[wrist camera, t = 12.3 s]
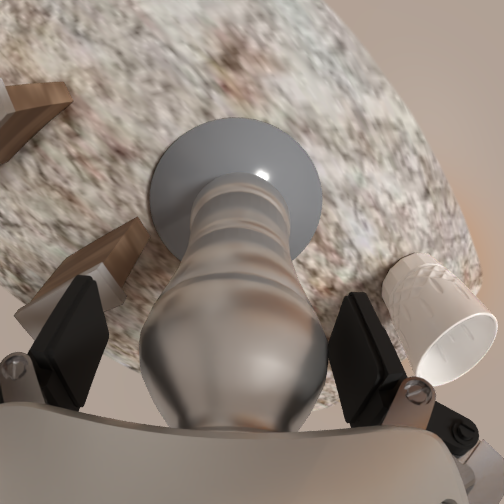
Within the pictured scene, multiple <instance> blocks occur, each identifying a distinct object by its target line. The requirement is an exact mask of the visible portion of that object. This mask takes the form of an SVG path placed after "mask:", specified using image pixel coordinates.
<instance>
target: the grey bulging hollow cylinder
mask: <svg viewBox="0 0 504 504" xmlns="http://www.w3.org/2000/svg"><path fill="white" fill-rule="evenodd" d="M190 232H191V233H190V238H189V244H188V248H187V250H186V252H185V255H184V257H183V259H182V261H181V263H180V265H179V267H178V270H177V271H176V272H175V274H174V275H173V277H172V278H171V280H170V281H169V283H168V284H167V286H166V287H165V289H164V291H163V292H162V294H161V295H160V297H159V298H158V300H157V302H156V303H155V304H154V306H153V308H152V310H151V312H150V314H149V316H148V318H147V320H146V322H145V324H144V326H143V328H142V330H141V334H140V341H139V356H140V368H141V374H142V378H143V380H144V382H145V384H146V387H147V389H148V391H149V393H150V395H151V398H152V400H153V402H154V404H155V405H156V407H157V409H158V411H159V412H160V414H161V415H162V416H163V418H164V420H165V421H166V423H167V424H168V426H169V427H170V428H178V429H188V430H200V431H215V432H240V433H283V432H298V430H299V429H300V428H301V426H302V425H303V424H304V422H305V421H306V419H307V418H308V416H309V415H310V413H311V411H312V409H313V407H314V405H315V403H316V401H317V399H318V397H319V395H320V393H321V391H322V389H323V387H324V385H325V381H326V375H327V367H328V359H329V349H328V342H327V339H326V336H325V334H324V331H323V328H322V325H321V323H320V321H319V319H318V317H317V315H316V312H315V311H314V309H313V307H312V305H311V303H310V301H309V299H308V297H307V295H306V293H305V292H304V290H303V288H302V286H301V284H300V282H299V280H298V277H297V274H296V271H295V268H294V265H293V263H292V260H291V256H290V250H289V236H290V214H289V209H288V206H287V204H286V202H285V200H284V198H283V197H282V195H281V194H280V193H279V191H278V190H277V189H276V188H274V187H273V186H272V185H271V184H270V183H269V182H268V181H266V180H264V179H263V178H261V177H259V176H256V175H254V174H250V173H244V172H234V173H229V174H225V175H222V176H220V177H218V178H216V179H214V180H213V181H211V182H210V183H209V184H207V185H206V186H205V187H204V188H203V189H202V190H201V191H200V192H199V193H198V195H197V197H196V199H195V201H194V203H193V206H192V210H191V218H190Z"/></svg>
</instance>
